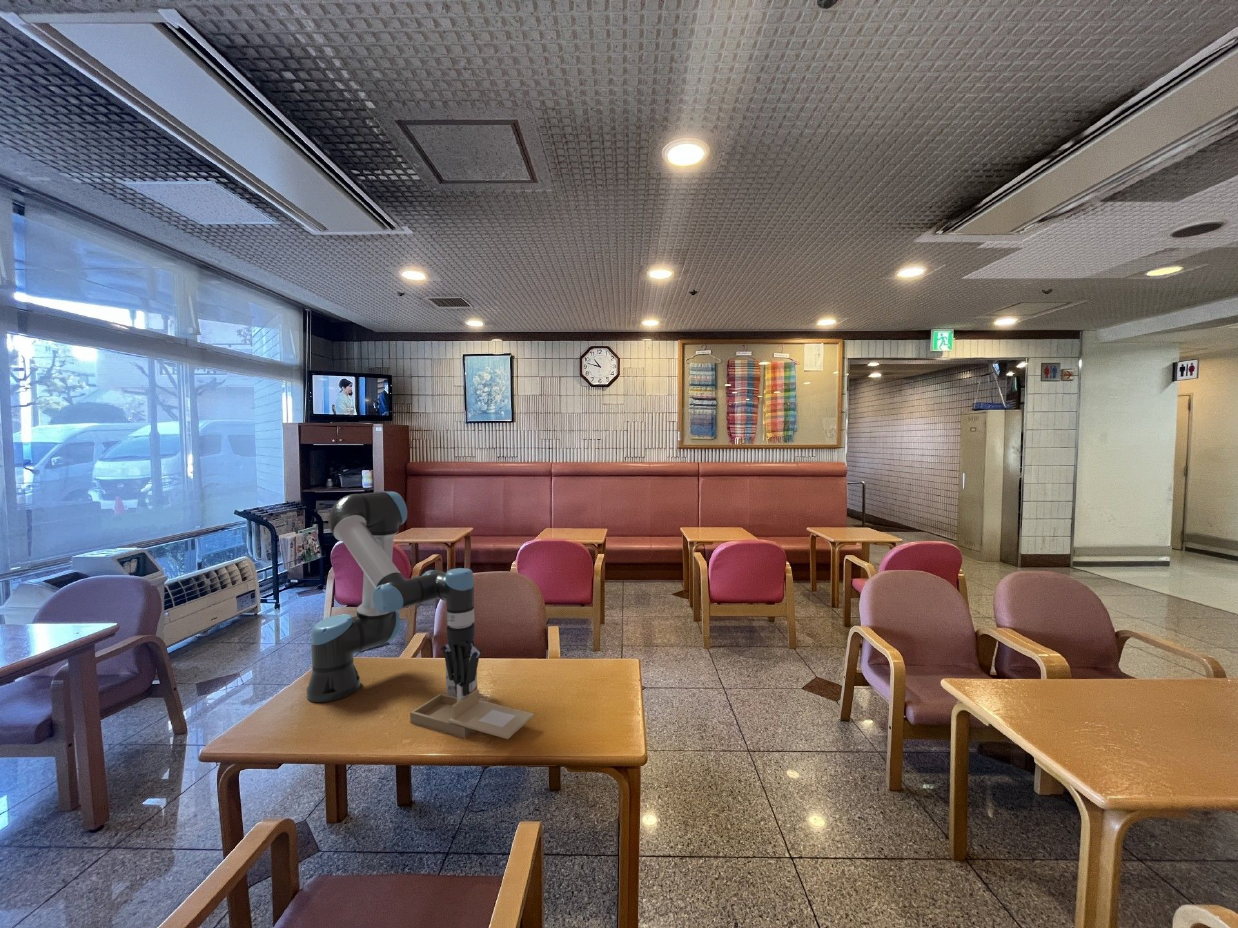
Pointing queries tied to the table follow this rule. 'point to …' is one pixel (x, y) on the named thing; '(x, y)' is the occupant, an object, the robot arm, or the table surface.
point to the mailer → (439, 716)
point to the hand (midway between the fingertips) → (462, 705)
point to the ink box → (451, 685)
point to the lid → (488, 716)
